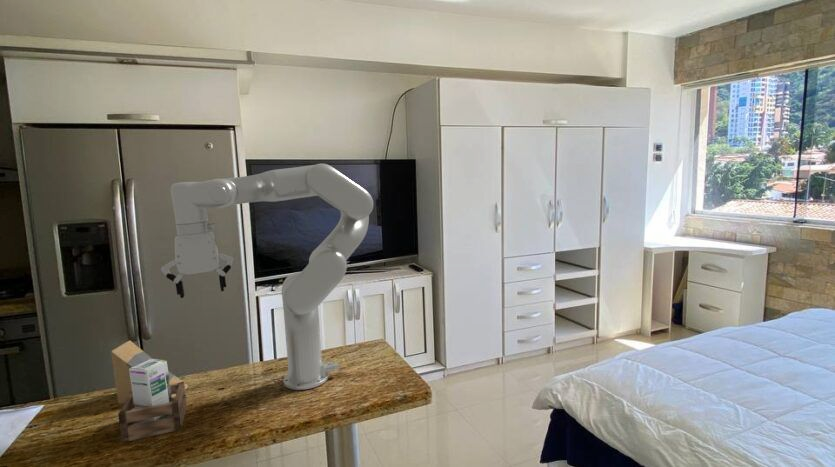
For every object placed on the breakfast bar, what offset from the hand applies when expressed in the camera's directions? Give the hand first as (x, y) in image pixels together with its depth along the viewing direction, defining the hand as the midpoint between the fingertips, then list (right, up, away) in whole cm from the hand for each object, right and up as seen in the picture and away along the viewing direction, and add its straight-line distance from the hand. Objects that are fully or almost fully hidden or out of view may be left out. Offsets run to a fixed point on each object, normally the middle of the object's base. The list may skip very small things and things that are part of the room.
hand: (202, 293), depth 117 cm
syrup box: (-7, -30, -9) cm, 32 cm away
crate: (-7, -31, -9) cm, 33 cm away
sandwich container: (-16, -29, +6) cm, 34 cm away
